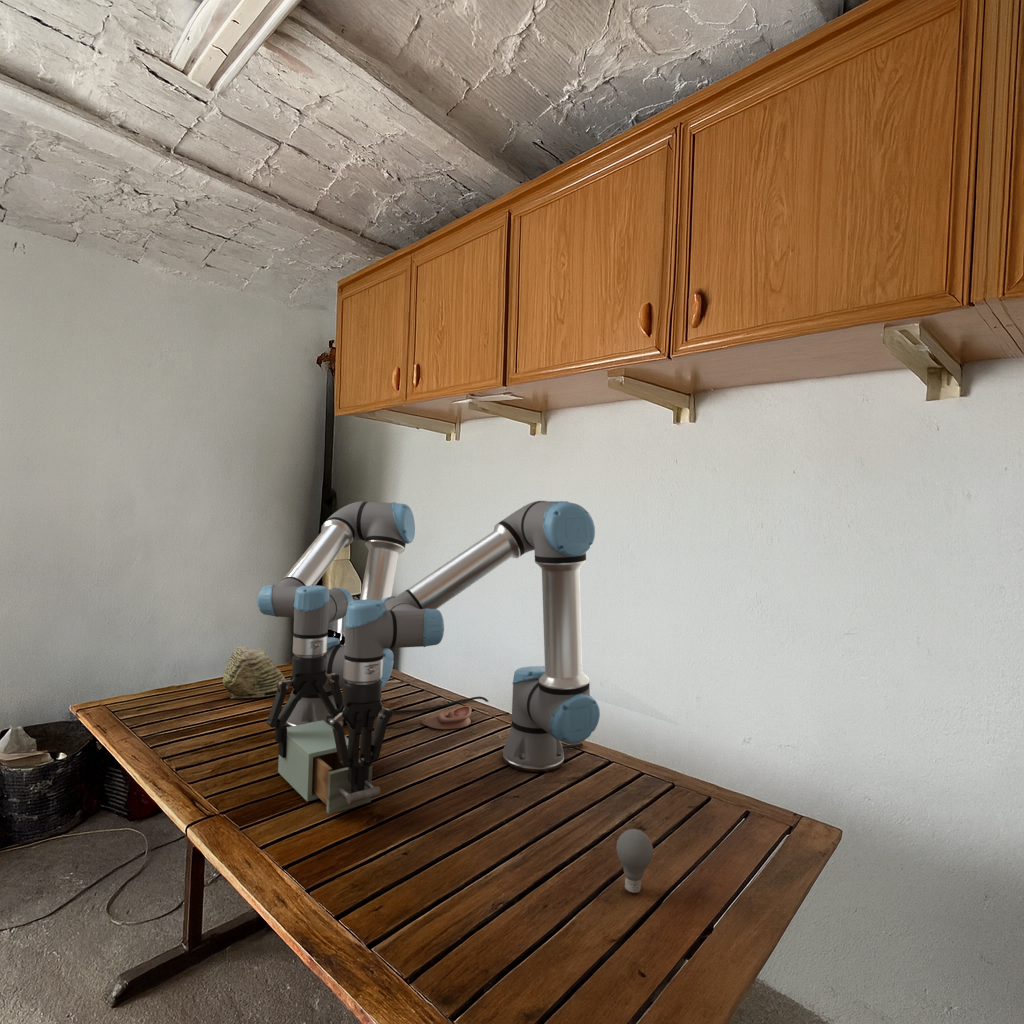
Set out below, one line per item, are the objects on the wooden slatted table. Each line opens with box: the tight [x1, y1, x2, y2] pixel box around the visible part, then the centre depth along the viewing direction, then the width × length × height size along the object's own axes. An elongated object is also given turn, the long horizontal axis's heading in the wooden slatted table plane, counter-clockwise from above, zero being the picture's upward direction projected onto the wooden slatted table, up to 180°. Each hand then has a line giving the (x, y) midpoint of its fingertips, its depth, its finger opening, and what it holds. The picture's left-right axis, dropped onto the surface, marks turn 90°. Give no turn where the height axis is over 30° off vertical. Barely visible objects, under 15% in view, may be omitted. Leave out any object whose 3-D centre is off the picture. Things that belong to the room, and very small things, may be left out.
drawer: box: [312, 752, 381, 815], centre depth 131 cm, size 22×9×8 cm, turn 40°
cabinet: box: [277, 720, 349, 803], centre depth 141 cm, size 17×10×10 cm, turn 40°
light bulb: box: [615, 828, 654, 894], centre depth 106 cm, size 6×6×10 cm
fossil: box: [222, 646, 286, 699], centre depth 198 cm, size 9×18×15 cm, turn 132°
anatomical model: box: [421, 705, 472, 730], centre depth 181 cm, size 13×4×12 cm
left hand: (306, 750), depth 145 cm, fingers closed on cabinet, 10 cm apart
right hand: (357, 797), depth 125 cm, fingers closed
